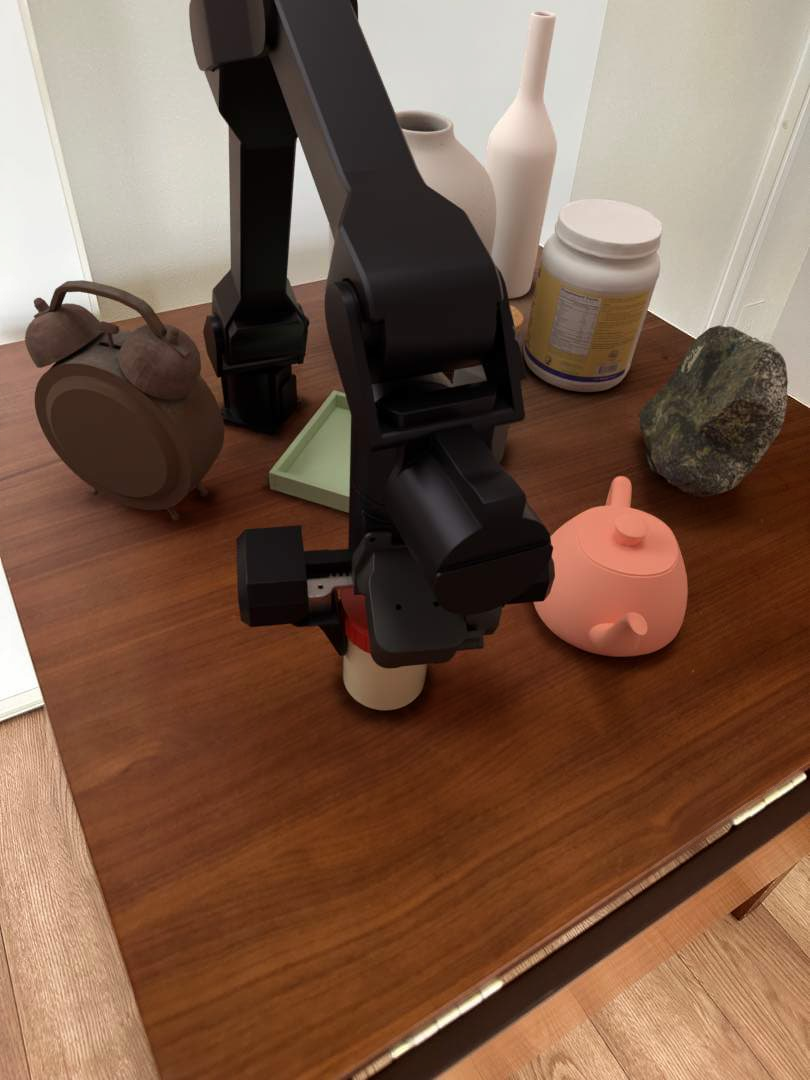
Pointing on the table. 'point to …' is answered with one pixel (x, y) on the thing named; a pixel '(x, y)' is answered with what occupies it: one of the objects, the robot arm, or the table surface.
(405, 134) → the vase
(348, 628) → the jar lid
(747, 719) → the table surface
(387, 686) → the jar
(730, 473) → the stone
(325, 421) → the tray
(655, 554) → the teapot
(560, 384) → the supplement tub
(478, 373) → the bottle
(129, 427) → the alarm clock
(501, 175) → the bottle
